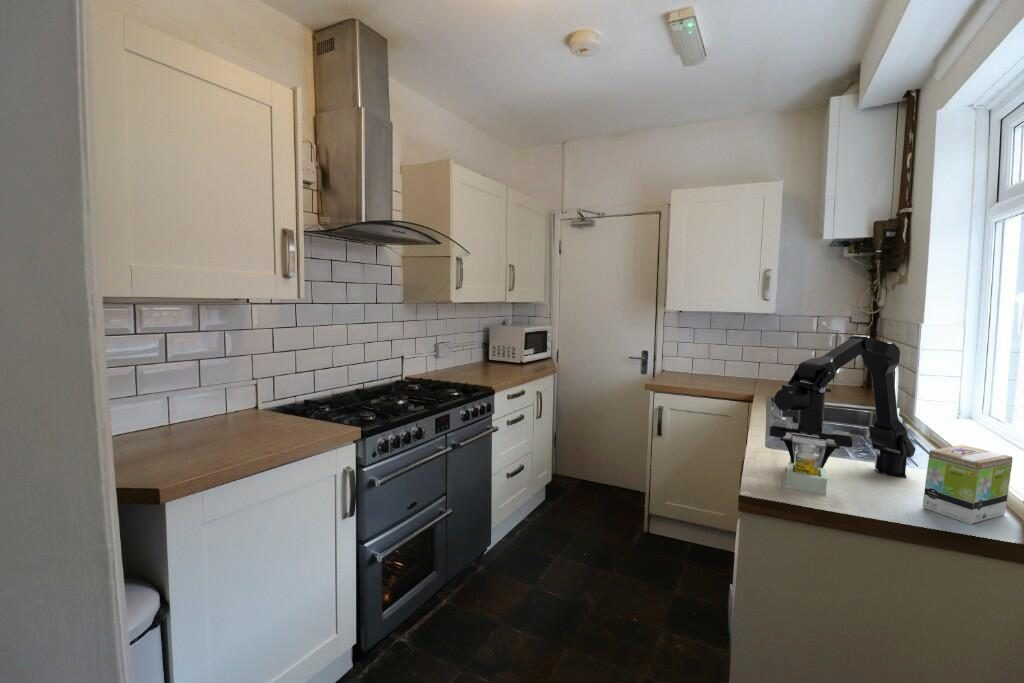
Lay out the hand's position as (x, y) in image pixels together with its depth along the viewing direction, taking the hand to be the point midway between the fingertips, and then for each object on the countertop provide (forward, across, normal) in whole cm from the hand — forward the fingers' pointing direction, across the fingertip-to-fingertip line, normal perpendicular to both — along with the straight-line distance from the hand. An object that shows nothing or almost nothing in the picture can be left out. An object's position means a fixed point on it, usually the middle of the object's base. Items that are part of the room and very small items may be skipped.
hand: (807, 465), depth 130 cm
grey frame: (+6, 0, -12) cm, 13 cm away
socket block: (+6, 0, -4) cm, 7 cm away
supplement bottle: (+4, 0, 0) cm, 4 cm away
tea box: (+6, -32, -2) cm, 33 cm away
